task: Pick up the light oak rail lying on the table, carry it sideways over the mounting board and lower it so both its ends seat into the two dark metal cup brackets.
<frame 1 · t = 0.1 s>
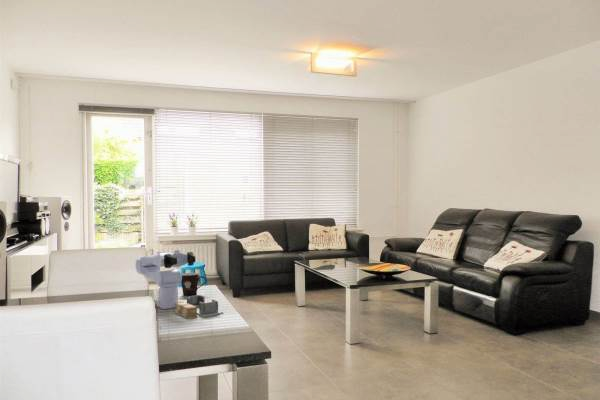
hand: (185, 260, 184), 22 cm above the table, tool horizontal, fingers open, 7 cm apart
bracket b: (208, 314, 184), resting on board
board: (203, 311, 189), on the table
bracket a: (196, 308, 194), resting on board
coffee mug: (192, 295, 225), on the table
rail: (185, 314, 185), on the table
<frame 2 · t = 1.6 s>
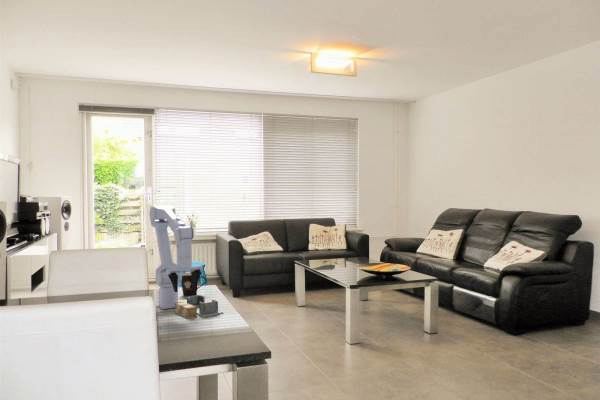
hand: (185, 290, 185), 9 cm above the table, tool pointing down, fingers open, 7 cm apart
nothing on the table moved.
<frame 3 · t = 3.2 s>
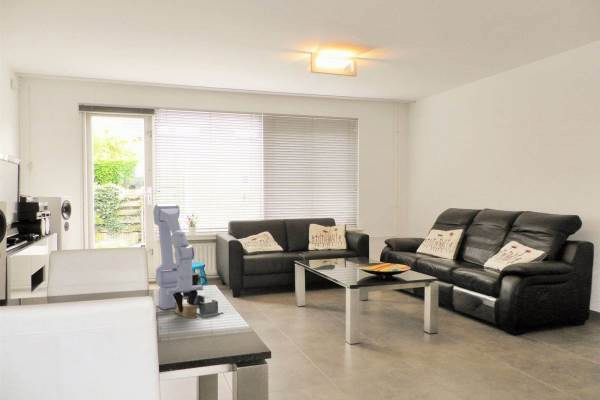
hand: (185, 310, 185), 1 cm above the table, tool pointing down, fingers closed on rail, 3 cm apart
rail: (185, 314, 185), on the table, touching gripper
everything else where it was.
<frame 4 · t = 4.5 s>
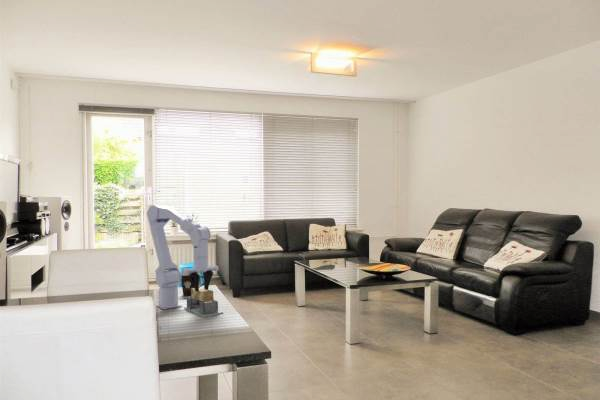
hand: (201, 290, 189), 9 cm above the table, tool pointing down, fingers closed on rail, 3 cm apart
rail: (202, 299, 189), point 5 cm above the table, touching gripper
everything else where it was.
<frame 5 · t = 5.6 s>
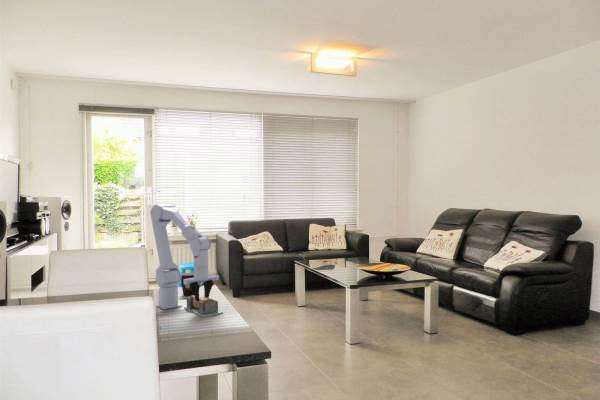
hand: (201, 300, 189), 5 cm above the table, tool pointing down, fingers closed on rail, 3 cm apart
rail: (202, 307, 189), point 2 cm above the table, touching bracket a, bracket b, gripper
everything else where it was.
when the fingers open (5 cm above the table, at t = 5.9 s): rail stays where it is, resting on bracket a, bracket b.
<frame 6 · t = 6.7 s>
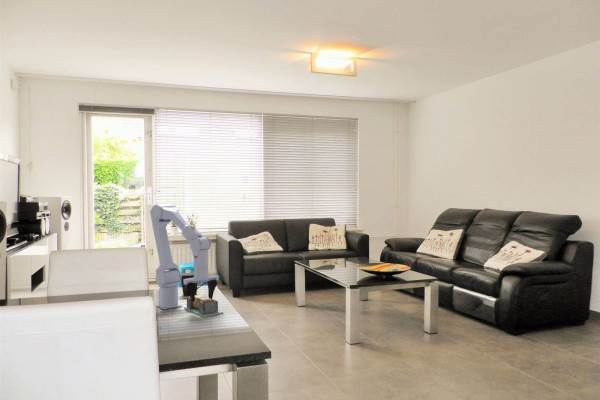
hand: (201, 300, 189), 5 cm above the table, tool pointing down, fingers open, 7 cm apart
rail: (202, 307, 189), point 2 cm above the table, touching bracket a, bracket b
everything else where it was.
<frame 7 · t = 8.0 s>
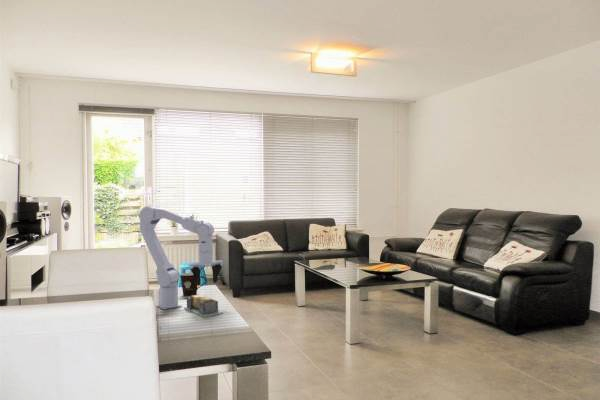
hand: (206, 283, 197), 10 cm above the table, tool pointing down, fingers open, 7 cm apart
nothing on the table moved.
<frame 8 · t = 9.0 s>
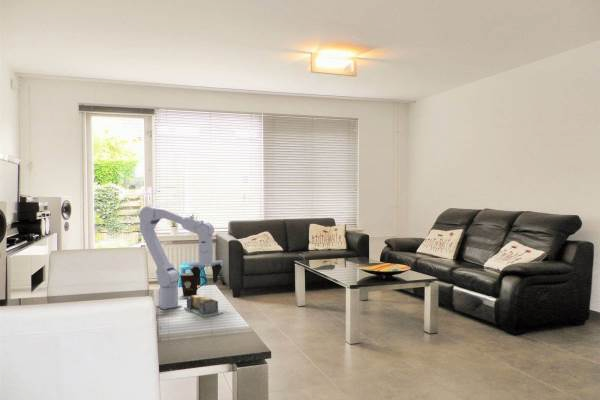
hand: (206, 283, 197), 10 cm above the table, tool pointing down, fingers open, 7 cm apart
nothing on the table moved.
at the end: rail 0.2 cm from the target spot, point 1.6 cm above the table; rail tilted 0°; the gripper is holding nothing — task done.
